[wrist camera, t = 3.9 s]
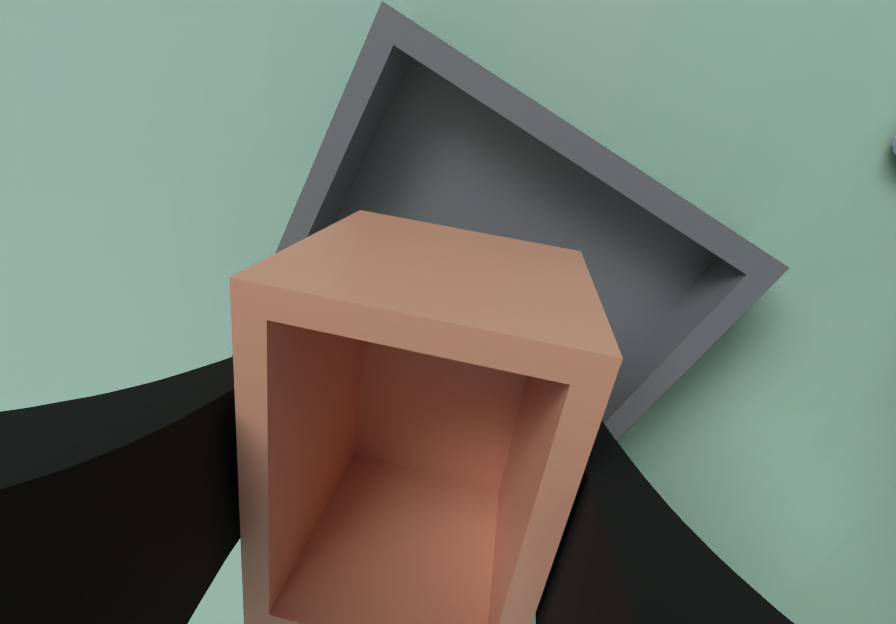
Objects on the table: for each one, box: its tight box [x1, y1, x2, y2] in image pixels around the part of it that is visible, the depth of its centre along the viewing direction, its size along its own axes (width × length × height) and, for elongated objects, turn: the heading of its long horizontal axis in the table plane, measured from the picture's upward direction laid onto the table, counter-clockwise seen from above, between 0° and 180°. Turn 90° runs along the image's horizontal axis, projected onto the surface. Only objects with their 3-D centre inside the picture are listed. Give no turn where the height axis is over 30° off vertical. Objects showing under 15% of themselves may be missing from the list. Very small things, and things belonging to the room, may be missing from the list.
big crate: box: [232, 1, 789, 441], centre depth 16 cm, size 12×12×3 cm
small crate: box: [230, 210, 623, 624], centre depth 9 cm, size 5×7×5 cm
